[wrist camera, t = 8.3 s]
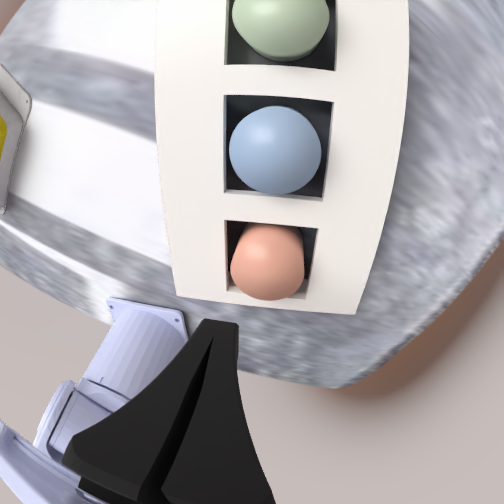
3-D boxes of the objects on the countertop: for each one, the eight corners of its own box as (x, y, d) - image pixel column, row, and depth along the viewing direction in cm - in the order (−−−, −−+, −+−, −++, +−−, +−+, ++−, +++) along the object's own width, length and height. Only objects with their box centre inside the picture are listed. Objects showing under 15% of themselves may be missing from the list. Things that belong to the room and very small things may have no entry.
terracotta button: (298, 271, 18) (298, 303, 16) (240, 265, 19) (231, 296, 16) (306, 217, 16) (309, 245, 14) (240, 211, 17) (229, 237, 14)
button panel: (349, 289, 19) (354, 314, 17) (188, 273, 20) (177, 295, 18) (390, -1, 8) (406, -14, 6) (178, -12, 9) (160, -25, 7)
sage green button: (320, 65, 11) (328, 57, 9) (243, 60, 12) (230, 51, 9) (321, 2, 9) (329, -19, 6) (245, -2, 9) (233, -23, 7)
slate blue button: (311, 178, 15) (315, 198, 12) (240, 172, 15) (229, 191, 13) (317, 108, 13) (325, 112, 10) (242, 103, 13) (229, 105, 10)
